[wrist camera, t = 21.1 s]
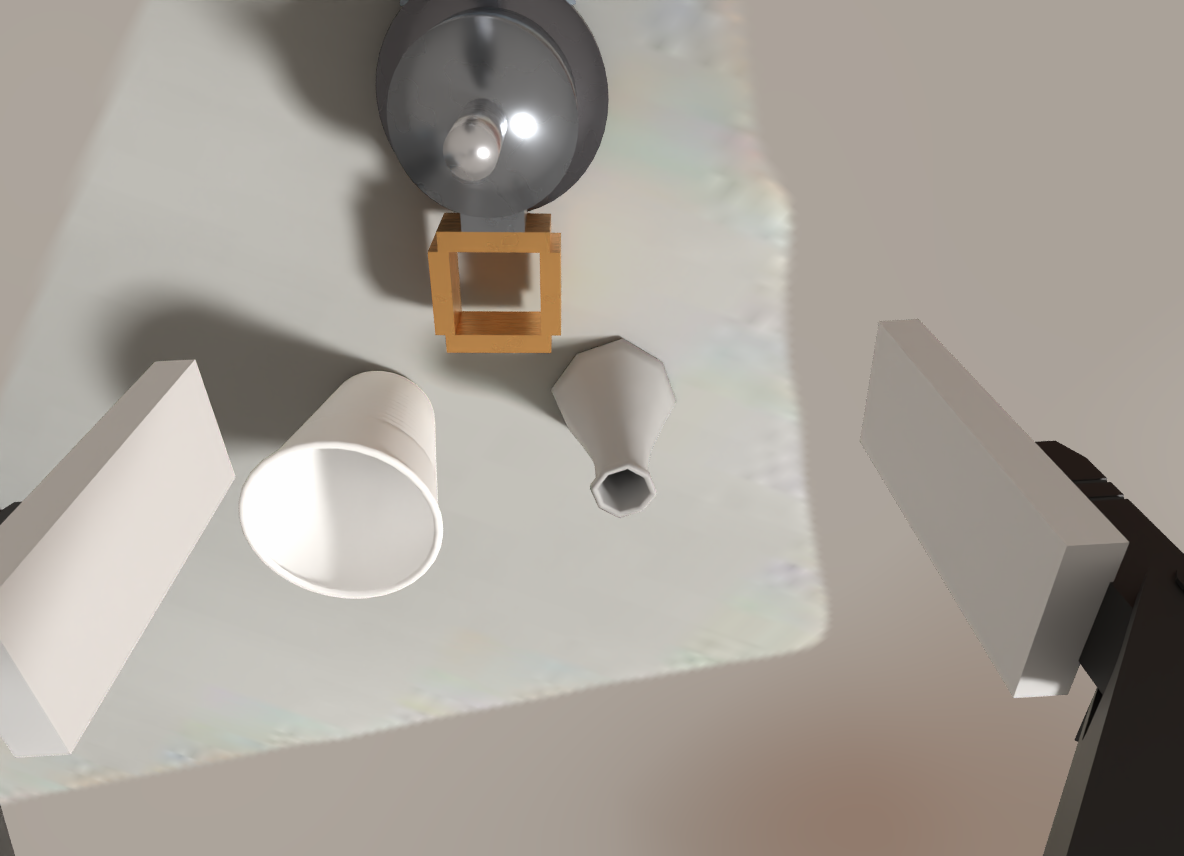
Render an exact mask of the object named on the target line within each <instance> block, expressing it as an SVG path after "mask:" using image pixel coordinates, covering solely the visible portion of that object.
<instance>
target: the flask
mask: <svg viewBox="0 0 1184 856" xmlns="http://www.w3.org/2000/svg"><path fill="white" fill-rule="evenodd" d="M551 391H552V394H553V396H554V398H555V400H556V403H557V405H558V407H559V409H560V412H561V414H562V416H563V418H564V420H565V423H566V425H567V427H568V429H569V430H570V432H571V433H572V434H573V435H574V437H575V438H576V439H577V440H578V441H579V443H580V444H581V445H582V446H583V447H584V449H585V450H586V452H587V453H588V455H589V456H590V457H591V459H592V460H593V462H594V465H595V474H596V478H595V479H594V481H593V482H592V483H591V485H590V489H591V492H592V494H593V496H594V498H595V500H596V503H597V505H598V507H599V508H600V509H602V510H604V511H606V512H608V513H610V514H612V515H614V516H616V517H618V518H621V517H625V516H628V515H631V514H635V513H638V512H641V511H643V510H644V509H645V508H646V507H647V506H648V504H649V503H650V502H651V501H652V500H653V499H654V497H655V496H656V495H657V491H656V488H655V486H654V483H653V481H652V478H651V476H650V473H649V471H648V467H649V461H650V455H651V451H652V449H653V447H654V445H655V442H656V440H657V438H658V436H659V434H660V432H661V430H662V428H663V426H664V424H665V422H666V420H667V419H668V417H669V415H670V413H671V411H672V410H673V408H674V405H675V403H676V398H675V395H674V393H673V390H672V387H671V384H670V381H669V379H668V376H667V373H666V370H665V367H664V364H663V362H662V361H660V360H658V359H657V358H655V357H653V356H652V355H650V354H648V353H646V352H645V351H643V350H641V349H640V348H638V347H636V346H635V345H633V344H631V343H630V342H628V341H626V340H624V339H620V340H617V341H614V342H611V343H608V344H605V345H602V346H599V347H596V348H593V349H590V350H587V351H584V352H581V353H578V354H576V356H575V357H574V358H573V360H572V361H571V363H570V364H569V365H568V367H567V368H566V370H565V371H564V372H563V374H562V375H561V377H560V378H559V379H558V381H557V382H556V384H555V385H554V386H553V388H552V389H551Z"/></svg>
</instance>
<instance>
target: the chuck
mask: <svg viewBox="0 0 1184 856" xmlns="http://www.w3.org/2000/svg"><path fill="white" fill-rule="evenodd" d="M387 124H388V130H389V135H390V139H391V142H392V145H393V149H394V151H395V153H396V155H397V158H398V160H399V162H400V163H401V165H402V167H403V169H404V170H405V172H406V173H407V174H408V176H409V177H410V178H411V180H412V181H413V182H414V183H415V184H416V185H417V186H418V187H419V188H420V189H421V191H423V192H424V193H425V194H426V195H427V196H429V197H430V198H431V199H433V200H434V201H436V202H437V203H439V204H440V205H442V206H444V207H446V208H448V209H450V210H452V211H455V212H458V213H444V215H443V217H442V220H441V222H440V224H439V226H438V229H437V231H436V234H435V236H434V238H433V241H432V243H431V245H430V248H429V250H428V261H429V272H430V282H431V292H432V303H433V313H434V324H435V334H436V335H445V336H446V347H447V353H551V348H552V335H561V233H551V214H531V213H527V209H528V208H531V207H533V206H534V205H536V204H537V203H539V202H540V201H542V200H543V199H544V198H545V197H546V196H548V195H549V194H550V193H551V192H552V191H553V190H554V189H555V187H556V186H557V185H558V184H559V183H560V181H561V180H562V178H563V177H564V175H565V174H566V172H567V170H568V168H569V165H570V163H571V161H572V158H573V155H574V152H575V148H576V143H577V138H578V109H577V92H576V86H575V81H574V77H573V74H572V70H571V68H570V65H569V63H568V61H567V59H566V57H565V55H564V53H563V52H562V50H561V48H560V47H559V45H558V44H557V43H556V42H555V40H554V39H553V38H552V37H551V36H550V35H549V34H548V33H547V32H546V31H545V30H544V29H543V28H542V27H541V26H539V25H538V24H537V23H535V22H534V21H532V20H531V19H529V18H527V17H525V16H523V15H521V14H519V13H516V12H514V11H511V10H507V9H502V8H495V7H477V8H472V9H467V10H464V11H461V12H458V13H456V14H453V15H452V16H450V17H448V18H446V19H444V20H443V21H441V22H440V23H439V24H437V25H436V26H434V27H433V28H432V29H430V30H429V31H427V32H426V33H425V34H424V35H422V36H421V37H420V38H418V39H417V40H416V41H415V42H414V43H413V44H412V45H411V46H410V47H409V49H408V50H407V51H406V53H405V54H404V55H403V57H402V58H401V60H400V62H399V64H398V66H397V67H396V69H395V71H394V74H393V77H392V80H391V83H390V87H389V92H388V97H387ZM457 252H515V253H540V291H541V312H498V311H462V307H461V294H460V281H459V268H458V254H457Z"/></svg>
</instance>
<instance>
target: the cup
mask: <svg viewBox="0 0 1184 856" xmlns="http://www.w3.org/2000/svg"><path fill="white" fill-rule="evenodd" d="M436 472H437V470H436V444H435V417H434V410H433V408H432V405H431V402H430V401H429V399H428V397H427V395H426V394H425V393H424V392H423V391H422V390H421V388H420V387H418V386H417V385H416V384H415V383H413V382H412V381H410V380H409V379H407V378H405V377H403V376H401V375H398V374H395V373H391V372H385V371H369V372H363V373H360V374H357V375H355V376H352V377H351V378H349V379H348V380H346V381H345V382H344V383H343V384H342V385H341V386H340V387H339V388H338V389H337V390H336V391H335V392H334V393H333V394H332V395H331V396H330V397H329V398H328V399H327V400H326V401H325V402H324V403H323V404H322V406H321V407H320V408H319V409H318V410H317V411H316V412H315V413H314V414H313V415H312V416H311V417H310V418H309V419H308V420H307V421H306V422H305V423H304V424H303V425H302V426H301V427H300V428H299V429H298V430H297V431H296V432H295V433H294V434H293V435H292V436H291V437H290V438H289V439H288V440H287V442H286V443H285V444H284V445H283V446H282V447H281V448H280V449H279V450H277V451H276V452H274V453H273V454H271V455H269V456H268V457H266V458H265V459H263V460H262V461H261V462H260V463H259V464H258V465H257V466H256V467H255V468H254V469H253V470H252V471H251V472H250V474H249V476H248V478H247V479H246V481H245V483H244V485H243V487H242V491H241V495H240V499H239V519H240V523H241V526H242V530H243V534H244V535H245V537H246V539H247V541H248V543H249V545H250V547H251V548H252V550H253V551H254V552H255V553H256V554H257V556H258V557H259V558H260V559H261V560H262V562H263V563H265V564H266V565H267V566H268V567H269V568H270V569H272V570H273V571H274V572H275V573H276V574H278V575H280V576H281V577H283V578H284V579H286V580H288V581H289V582H291V583H293V584H295V585H297V586H300V587H302V588H304V589H306V590H309V591H312V592H316V593H319V594H323V595H326V596H332V597H340V598H370V597H376V596H383V595H386V594H389V593H392V592H395V591H398V590H400V589H402V588H404V587H406V586H408V585H410V584H411V583H413V582H414V581H416V580H417V579H418V578H419V577H421V576H422V575H423V574H424V573H425V572H426V571H427V570H428V569H429V567H430V566H431V565H432V563H433V562H434V561H435V559H436V557H437V554H438V552H439V550H440V547H441V544H442V537H443V522H442V515H441V512H440V509H439V506H438V490H437V473H436Z"/></svg>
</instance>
